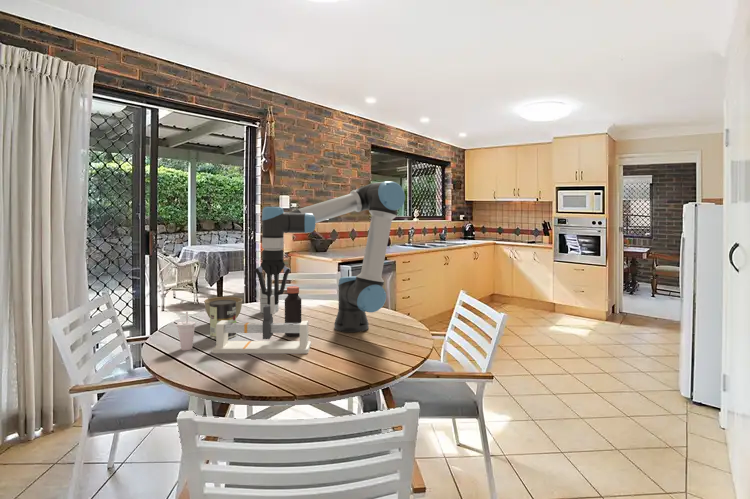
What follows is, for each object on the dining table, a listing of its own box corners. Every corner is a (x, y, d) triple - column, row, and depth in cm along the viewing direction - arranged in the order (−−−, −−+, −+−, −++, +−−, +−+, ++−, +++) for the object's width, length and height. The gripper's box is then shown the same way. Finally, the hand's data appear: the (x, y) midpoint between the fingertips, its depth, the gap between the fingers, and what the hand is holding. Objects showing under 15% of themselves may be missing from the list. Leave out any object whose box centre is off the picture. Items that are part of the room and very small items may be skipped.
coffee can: (241, 333, 179) (240, 300, 178) (228, 340, 169) (227, 305, 168) (219, 331, 181) (218, 298, 180) (204, 338, 171) (204, 303, 170)
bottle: (281, 334, 178) (281, 287, 176) (294, 331, 183) (294, 285, 181) (291, 338, 173) (291, 289, 172) (304, 334, 178) (304, 287, 176)
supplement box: (265, 310, 223) (264, 285, 222) (278, 310, 222) (278, 286, 221) (259, 313, 215) (259, 288, 214) (274, 313, 215) (273, 288, 214)
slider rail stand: (311, 345, 164) (311, 319, 163) (307, 353, 154) (307, 326, 154) (221, 344, 163) (221, 318, 162) (212, 353, 153) (211, 325, 152)
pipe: (303, 331, 160) (303, 322, 160) (302, 333, 157) (302, 324, 157) (224, 330, 159) (224, 322, 159) (222, 333, 156) (222, 324, 156)
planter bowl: (235, 328, 186) (235, 303, 186) (198, 327, 187) (198, 303, 186) (247, 319, 203) (247, 296, 202) (213, 318, 203) (213, 296, 202)
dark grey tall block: (273, 334, 162) (272, 304, 161) (269, 339, 155) (269, 308, 154) (266, 334, 162) (266, 304, 161) (262, 339, 155) (262, 308, 154)
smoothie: (184, 352, 153) (183, 314, 152) (173, 349, 157) (172, 311, 156) (199, 348, 159) (199, 310, 158) (189, 345, 162) (188, 308, 161)
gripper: (292, 248, 160) (292, 311, 162) (257, 248, 159) (257, 310, 161) (289, 250, 152) (289, 315, 154) (252, 250, 152) (252, 315, 154)
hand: (273, 313), depth 158 cm, fingers closed
